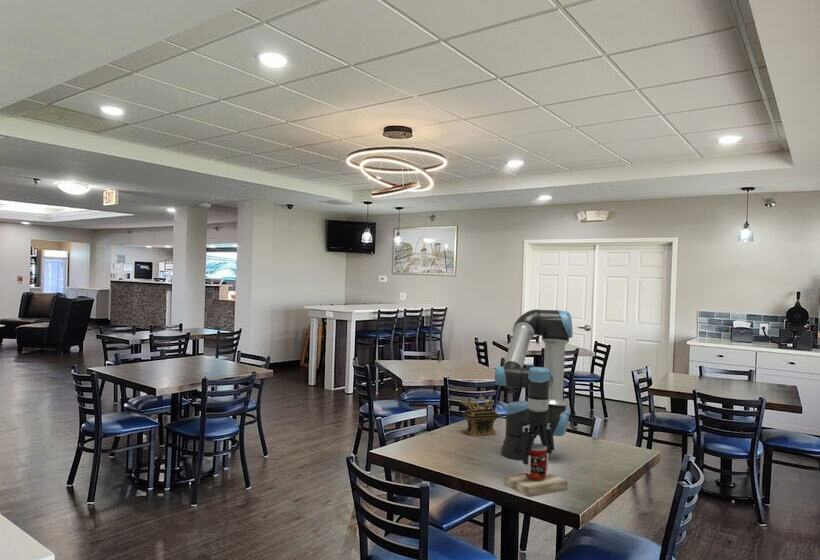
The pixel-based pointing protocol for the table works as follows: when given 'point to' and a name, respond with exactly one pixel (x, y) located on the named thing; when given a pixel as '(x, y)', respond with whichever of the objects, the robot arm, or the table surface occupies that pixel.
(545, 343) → the robot arm
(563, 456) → the table surface
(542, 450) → the canned food
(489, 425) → the decorative box
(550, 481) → the pale wooden plank
